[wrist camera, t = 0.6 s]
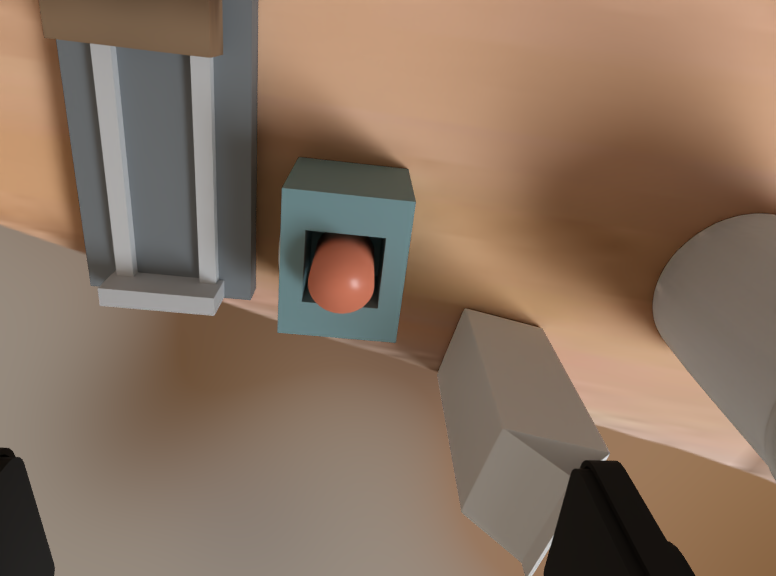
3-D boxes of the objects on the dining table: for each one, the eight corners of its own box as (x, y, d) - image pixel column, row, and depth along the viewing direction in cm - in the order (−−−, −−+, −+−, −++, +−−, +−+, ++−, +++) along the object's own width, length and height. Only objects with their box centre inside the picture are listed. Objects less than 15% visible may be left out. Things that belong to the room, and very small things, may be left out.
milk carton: (436, 374, 48) (470, 569, 31) (464, 306, 45) (519, 480, 28) (510, 391, 49) (582, 590, 32) (542, 326, 46) (641, 507, 29)
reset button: (317, 222, 36) (309, 250, 32) (377, 228, 36) (377, 257, 32) (314, 276, 38) (306, 310, 33) (371, 281, 38) (370, 316, 34)
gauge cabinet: (294, 156, 39) (276, 187, 32) (408, 168, 40) (415, 201, 33) (289, 280, 44) (273, 332, 36) (392, 290, 44) (395, 342, 37)
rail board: (45, -172, 31) (-12, -205, 26) (259, -141, 32) (240, -167, 27) (102, 274, 43) (71, 304, 38) (255, 288, 44) (242, 319, 39)
